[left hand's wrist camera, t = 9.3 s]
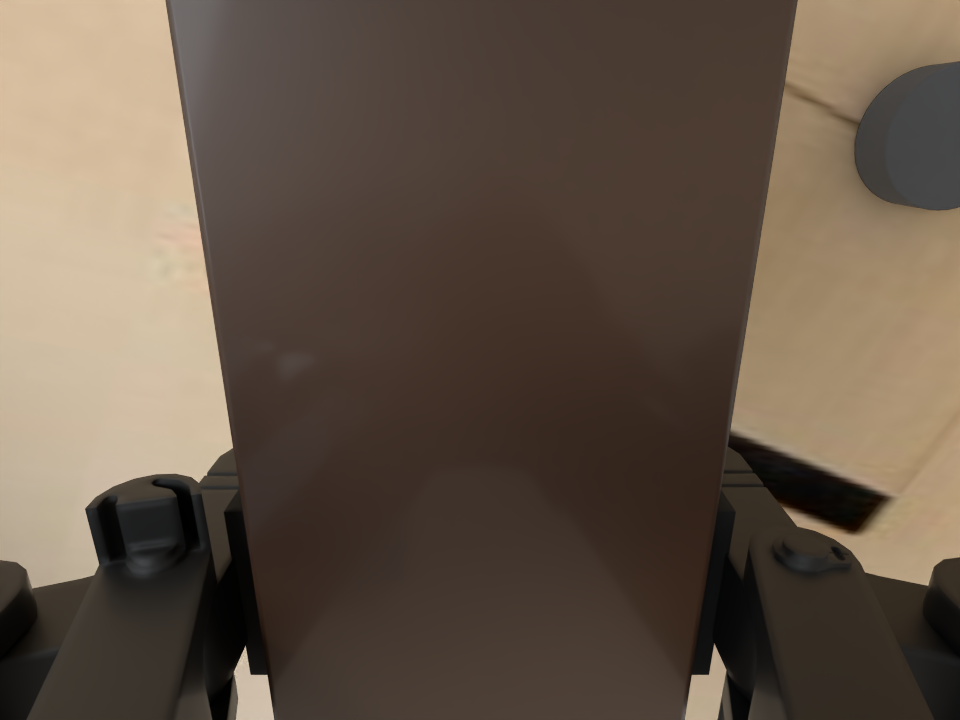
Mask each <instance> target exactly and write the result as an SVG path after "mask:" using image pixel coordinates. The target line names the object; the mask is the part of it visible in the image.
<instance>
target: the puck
mask: <svg viewBox="0 0 960 720" xmlns="http://www.w3.org/2000/svg"><path fill="white" fill-rule="evenodd" d="M855 159H856V165H857V169H858V172H859V174H860V177H861V179H862V180H863V182H864V183H865V185H866V186H867V187H868V188H869V190H870V191H871V192H873V193H874V194H875V195H876V196H878V197H880V198H881V199H883V200H886V201H888V202H891V203H896V204H901V205H906V206H912V207H917V208H922V209H928V210H949V209H954V208H958V207H960V61H959V62H952V63H944V64H937V65H930V66H925V67H920V68H918V69H915V70H912V71H910V72H908V73H906V74H903V75H902V76H900V77H899V78H897V79H895V80H894V81H893V82H891V83H890V84H889V85H888V86H886V87H885V88H884V89H883V90H882V91H881V92H880V93H879V94H878V95H877V97H876V98H875V99H874V100H873V102H872V103H871V104H870V106H869V107H868V109H867V111H866V112H865V114H864V116H863V118H862V121H861V123H860V126H859V128H858V132H857V136H856V143H855Z"/></svg>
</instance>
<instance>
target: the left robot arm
mask: <svg viewBox="0 0 960 720" xmlns="http://www.w3.org/2000/svg"><path fill="white" fill-rule="evenodd" d="M85 510H86V514H87V518H88V522H89V526H90V530H91V534H92V538H93V541H94V545H95V549H96V553H97V557H98V561H99V567H98V569H97V571H96V573H95V575H94V576H90V577H86V578H83V579H78V580H73V581H68V582H63V583H58V584H53V585H49V586H44V587H39V588H34V589H32V587H31V584H30V580H29V577H28V574H27V571H26V569H25V568H23V567H22V566H21V565H19V564H18V563H17V562H9V561H2V560H0V720H236V712H237V704H238V694H237V688H236V682H235V676H234V670H235V668H236V666H237V663H238V661H239V659H240V657H241V654H242V652H243V650H244V648H245V646H246V649H247V655H248V661H249V667H250V673H251V675H268V674H267V667H266V660H265V654H264V647H263V641H262V634H261V627H260V621H259V614H258V608H257V601H256V594H255V588H254V581H253V575H252V568H251V561H250V555H249V548H248V542H247V535H246V528H245V522H244V515H243V509H242V502H241V495H240V489H239V482H238V475H237V469H236V462H235V456H234V449H231V450H230V451H228V452H226V453H225V454H223V455H222V456H220V457H219V458H218V460H217V461H216V462H215V464H214V465H213V466H212V467H211V469H210V470H209V471H208V472H207V476H204V478H203V479H202V480H201V481H200V483H198V482H197V481H195V480H194V479H193V478H191V477H188V476H183V475H178V474H156V475H151V476H146V477H141V478H136V479H133V480H130V481H127V482H125V483H122V484H119V485H117V486H114V487H112V488H110V489H109V490H107V491H105V492H104V493H102V494H100V495H99V496H97V497H96V498H95V499H94V500H93V501H92V502H91V503H90V504H89V505H88V506H87V507H86V508H85ZM714 643H715V646H716V648H717V650H718V652H719V654H720V657H721V659H722V661H723V663H724V665H725V668H726V676H725V682H724V687H723V693H722V698H721V704H720V709H719V715H718V720H960V557H959V558H952V559H944V560H942V561H941V562H940V563H939V564H937V565H936V566H935V567H934V569H933V572H932V575H931V579H930V582H929V585H928V586H925V585H920V584H915V583H910V582H905V581H901V580H896V579H891V578H886V577H881V576H876V575H873V574H869V573H865V572H864V570H863V568H862V566H861V564H860V562H859V561H858V560H857V558H856V557H855V556H854V555H853V553H852V552H851V551H850V550H849V549H847V548H846V547H844V546H843V545H841V544H840V543H839V542H837V541H836V540H834V539H832V538H830V537H827V536H825V535H823V534H820V533H818V532H816V531H813V530H809V529H804V528H800V527H797V526H796V525H795V523H794V522H793V521H792V519H791V518H790V517H789V516H788V514H787V513H786V512H785V511H784V509H783V508H782V507H781V506H780V504H779V503H778V502H777V501H776V499H775V498H774V497H773V496H772V494H771V493H770V492H769V490H768V489H767V488H766V487H763V483H762V482H761V480H760V479H759V478H758V477H757V475H756V474H753V470H752V469H751V468H750V467H749V465H748V464H747V463H746V461H745V460H744V459H743V458H742V456H741V455H740V454H739V453H737V452H735V451H734V450H732V449H731V448H729V447H727V453H726V459H725V466H724V472H723V478H722V485H721V491H720V497H719V504H718V510H717V517H716V523H715V529H714V536H713V542H712V548H711V555H710V561H709V567H708V574H707V580H706V587H705V593H704V599H703V606H702V612H701V618H700V625H699V631H698V637H697V644H696V650H695V656H694V663H693V669H692V675H709V671H710V665H711V659H712V653H713V647H714Z"/></svg>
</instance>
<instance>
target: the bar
mask: <svg viewBox="0 0 960 720" xmlns="http://www.w3.org/2000/svg"><path fill="white" fill-rule="evenodd" d="M797 1H798V0H166V6H167V13H168V20H169V26H170V33H171V39H172V46H173V53H174V59H175V66H176V72H177V79H178V86H179V92H180V99H181V105H182V112H183V119H184V125H185V132H186V138H187V145H188V152H189V158H190V165H191V171H192V178H193V185H194V191H195V198H196V205H197V211H198V218H199V224H200V231H201V238H202V244H203V251H204V257H205V264H206V271H207V277H208V284H209V290H210V297H211V304H212V310H213V317H214V323H215V330H216V337H217V343H218V350H219V357H220V363H221V370H222V376H223V383H224V390H225V396H226V403H227V409H228V416H229V423H230V429H231V436H232V442H233V449H234V456H235V462H236V469H237V475H238V482H239V489H240V495H241V502H242V509H243V515H244V522H245V528H246V535H247V542H248V548H249V555H250V561H251V568H252V575H253V581H254V588H255V594H256V601H257V608H258V614H259V621H260V627H261V634H262V641H263V647H264V654H265V660H266V667H267V674H268V680H269V687H270V694H271V700H272V707H273V713H274V720H685V714H686V707H687V701H688V695H689V688H690V682H691V676H692V669H693V663H694V656H695V650H696V644H697V637H698V631H699V625H700V618H701V612H702V606H703V599H704V593H705V587H706V580H707V574H708V567H709V561H710V555H711V548H712V542H713V536H714V529H715V523H716V517H717V510H718V504H719V497H720V491H721V485H722V478H723V472H724V466H725V459H726V453H727V447H728V440H729V434H730V427H731V421H732V415H733V408H734V402H735V396H736V389H737V383H738V377H739V370H740V364H741V357H742V351H743V345H744V338H745V332H746V326H747V319H748V313H749V307H750V300H751V294H752V287H753V281H754V275H755V268H756V262H757V256H758V249H759V243H760V237H761V230H762V224H763V217H764V211H765V205H766V198H767V192H768V186H769V179H770V173H771V167H772V160H773V154H774V147H775V141H776V135H777V128H778V122H779V116H780V109H781V103H782V97H783V90H784V84H785V77H786V71H787V65H788V58H789V52H790V46H791V39H792V33H793V27H794V20H795V14H796V7H797Z"/></svg>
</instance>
